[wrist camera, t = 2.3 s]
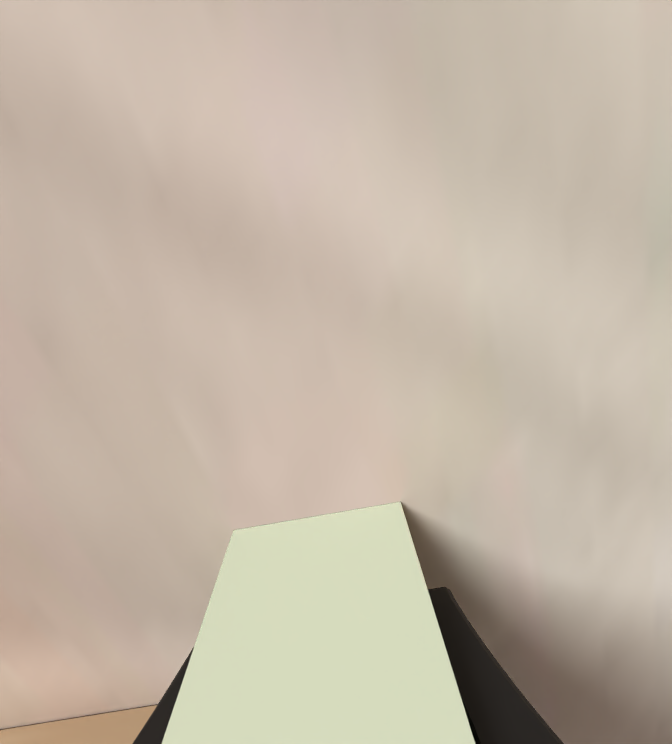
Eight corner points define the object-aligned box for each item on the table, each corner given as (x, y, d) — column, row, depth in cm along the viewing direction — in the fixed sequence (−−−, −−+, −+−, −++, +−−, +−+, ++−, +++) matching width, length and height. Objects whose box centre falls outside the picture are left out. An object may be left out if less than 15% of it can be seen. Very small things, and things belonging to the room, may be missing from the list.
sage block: (420, 630, 11) (516, 1008, 6) (271, 654, 12) (217, 1049, 6) (400, 501, 10) (498, 820, 4) (233, 530, 10) (116, 877, 5)
